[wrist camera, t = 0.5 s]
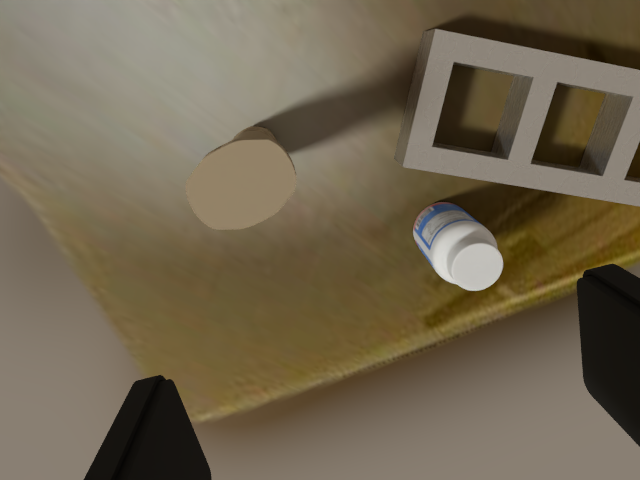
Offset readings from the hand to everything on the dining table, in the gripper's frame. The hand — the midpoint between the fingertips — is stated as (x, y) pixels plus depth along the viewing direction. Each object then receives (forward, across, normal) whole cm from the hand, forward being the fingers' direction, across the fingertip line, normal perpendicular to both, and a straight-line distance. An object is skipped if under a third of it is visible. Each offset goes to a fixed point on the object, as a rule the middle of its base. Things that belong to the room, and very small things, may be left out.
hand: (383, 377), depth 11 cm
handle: (+33, +5, -2) cm, 34 cm away
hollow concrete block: (+33, -22, +3) cm, 40 cm away
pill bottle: (+34, -10, +10) cm, 36 cm away
